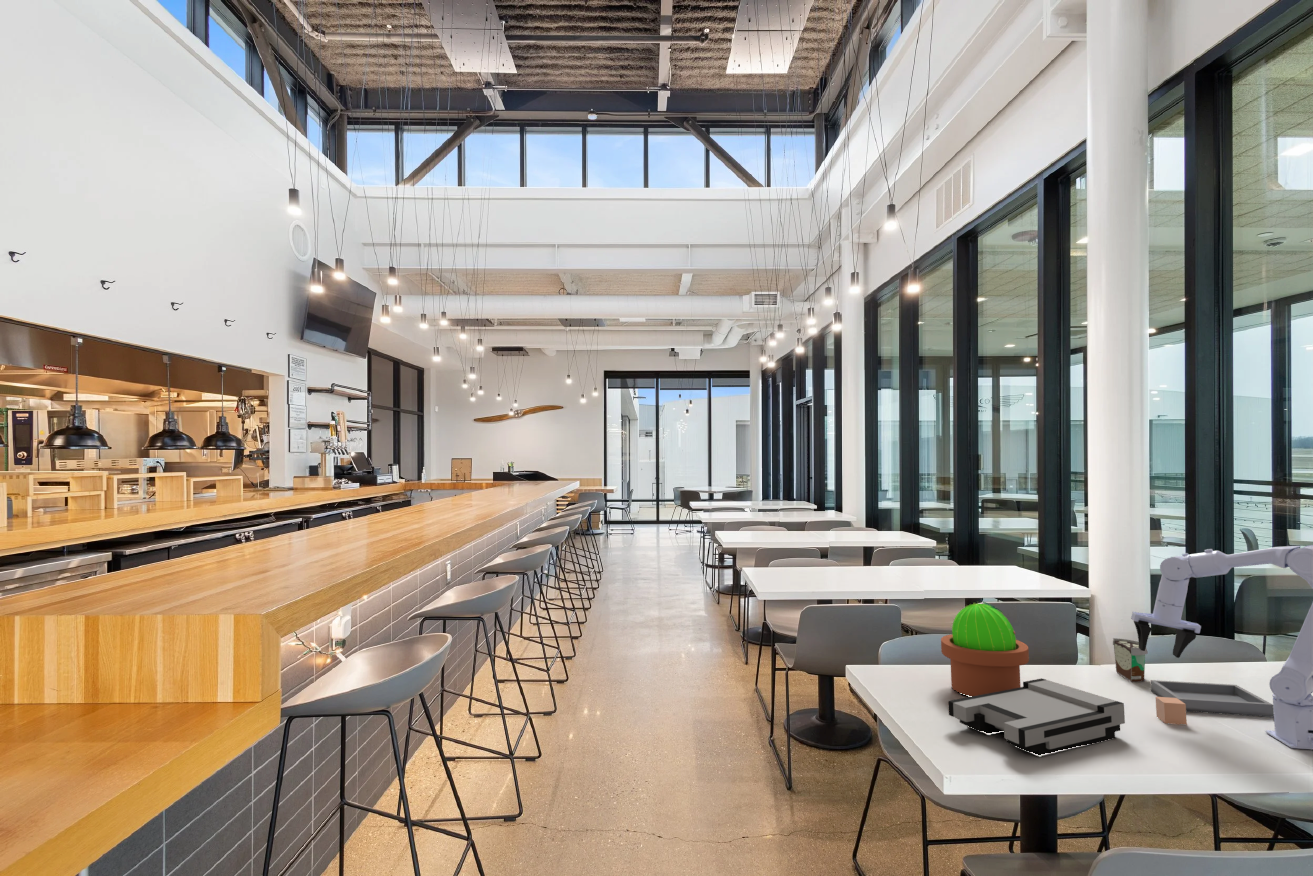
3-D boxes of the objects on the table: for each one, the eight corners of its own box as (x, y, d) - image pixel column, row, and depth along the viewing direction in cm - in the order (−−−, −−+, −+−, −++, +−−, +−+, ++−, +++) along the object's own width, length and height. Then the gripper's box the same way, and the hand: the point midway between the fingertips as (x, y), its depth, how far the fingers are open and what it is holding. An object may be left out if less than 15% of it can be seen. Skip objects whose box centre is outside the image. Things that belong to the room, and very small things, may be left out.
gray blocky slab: (949, 730, 162) (948, 695, 162) (1043, 710, 174) (1041, 678, 174) (1026, 764, 143) (1024, 725, 143) (1125, 739, 155) (1123, 703, 155)
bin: (1273, 717, 166) (1273, 704, 166) (1179, 711, 171) (1178, 699, 171) (1236, 696, 181) (1236, 684, 182) (1151, 691, 187) (1150, 680, 187)
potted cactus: (953, 703, 180) (950, 608, 181) (935, 678, 201) (931, 593, 202) (1043, 707, 176) (1038, 610, 177) (1014, 681, 197) (1010, 595, 199)
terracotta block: (1186, 725, 162) (1185, 704, 162) (1165, 723, 163) (1163, 702, 163) (1177, 718, 166) (1176, 698, 167) (1156, 717, 168) (1155, 696, 168)
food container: (1158, 684, 192) (1156, 649, 193) (1134, 683, 193) (1132, 648, 194) (1136, 672, 204) (1134, 638, 205) (1114, 671, 206) (1112, 637, 206)
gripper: (1195, 603, 173) (1184, 653, 175) (1131, 591, 177) (1120, 640, 179) (1209, 612, 166) (1197, 664, 168) (1142, 600, 170) (1131, 651, 172)
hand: (1158, 652), depth 173 cm, fingers open, 7 cm apart
